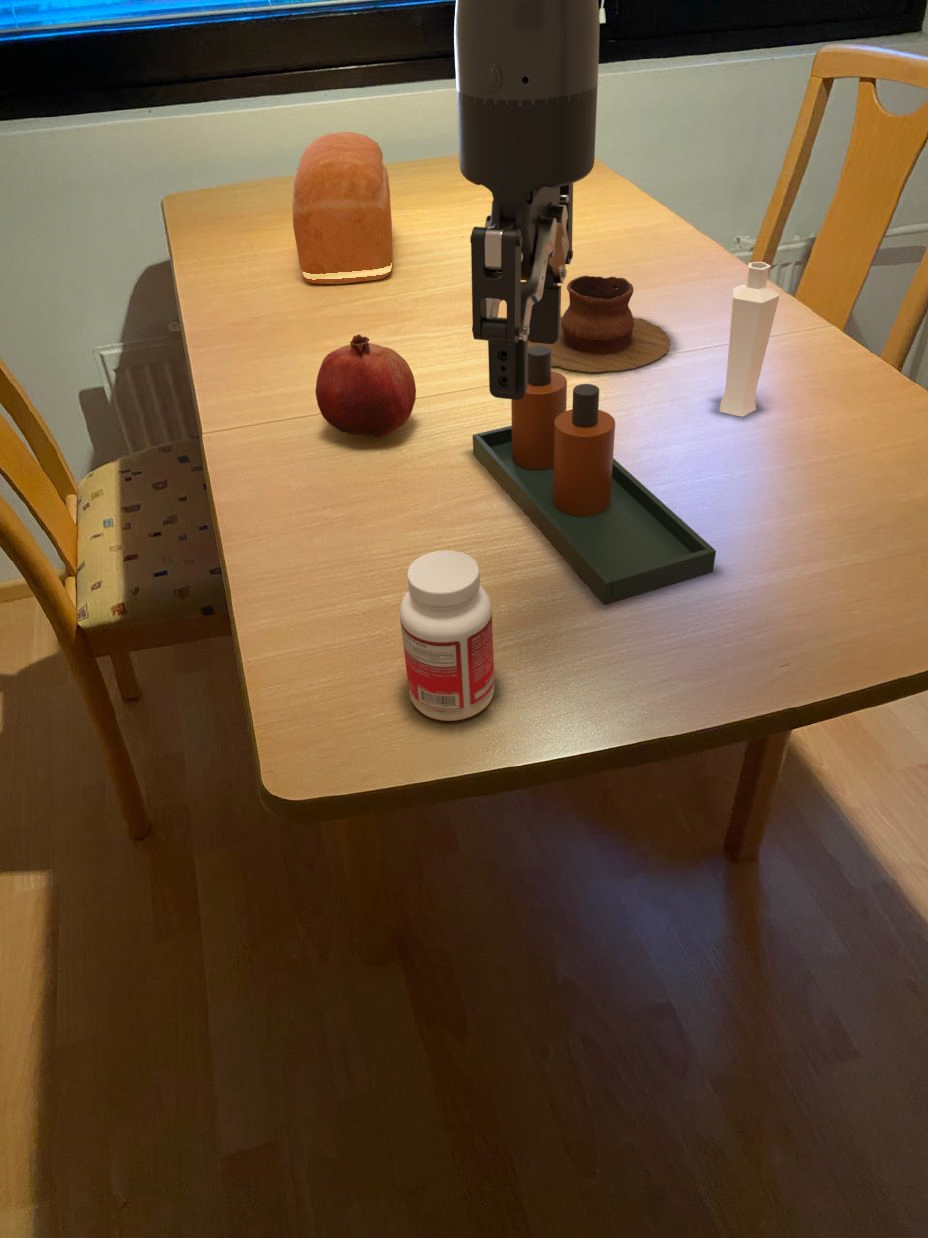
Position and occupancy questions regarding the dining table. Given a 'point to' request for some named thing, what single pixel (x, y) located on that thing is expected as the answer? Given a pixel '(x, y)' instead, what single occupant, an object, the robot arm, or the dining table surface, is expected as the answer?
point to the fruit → (365, 389)
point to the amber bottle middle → (583, 455)
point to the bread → (342, 208)
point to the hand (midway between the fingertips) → (526, 367)
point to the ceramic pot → (604, 329)
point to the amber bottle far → (538, 412)
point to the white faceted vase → (748, 339)
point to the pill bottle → (447, 636)
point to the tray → (603, 527)
